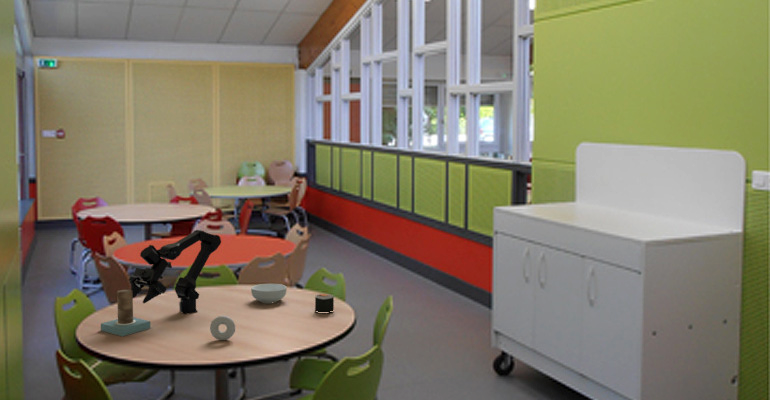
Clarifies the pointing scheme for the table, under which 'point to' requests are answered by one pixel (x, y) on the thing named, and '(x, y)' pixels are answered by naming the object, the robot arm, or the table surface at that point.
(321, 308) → the sushi
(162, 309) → the table surface
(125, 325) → the plinth
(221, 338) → the donut
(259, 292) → the cereal bowl
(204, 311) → the table surface
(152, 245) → the robot arm
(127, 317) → the walnut post
